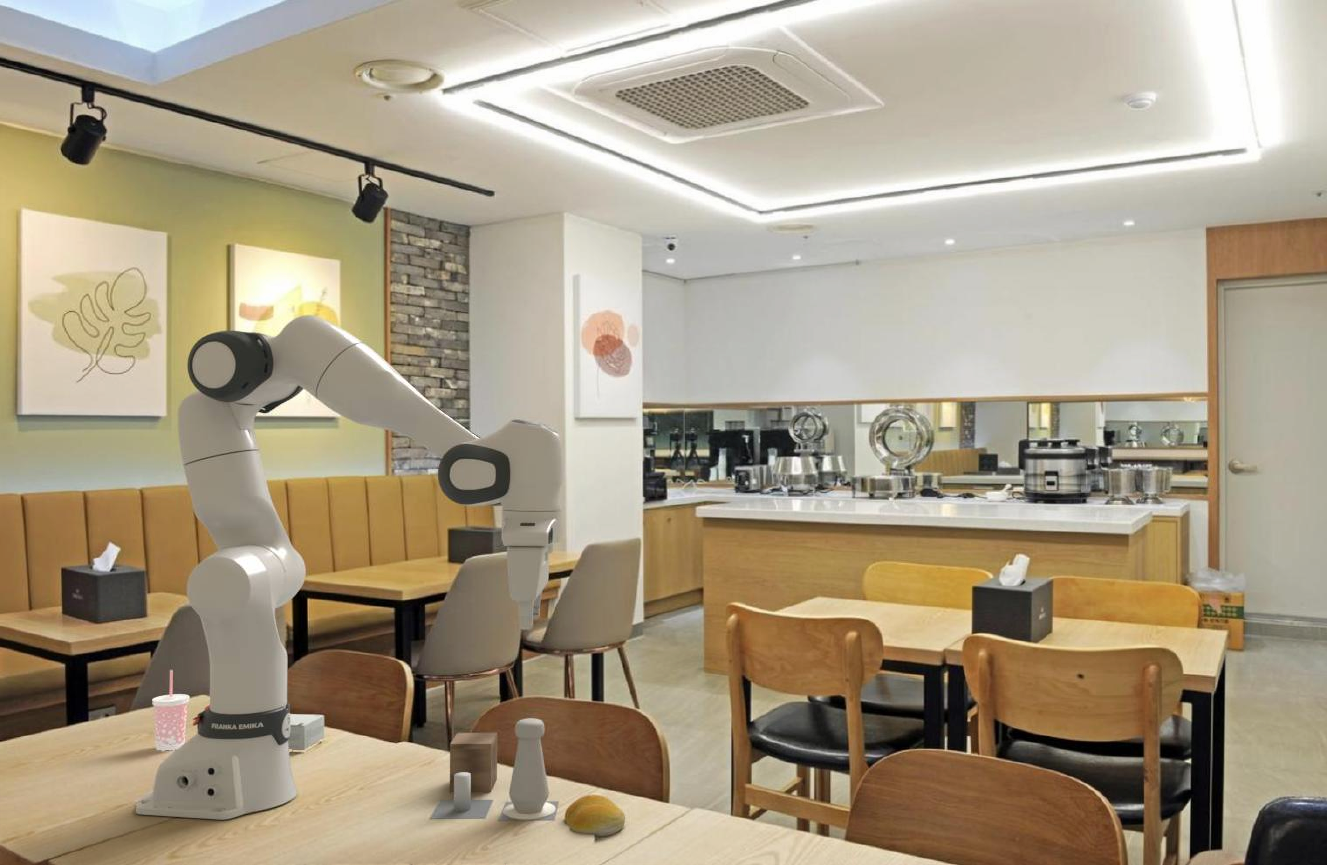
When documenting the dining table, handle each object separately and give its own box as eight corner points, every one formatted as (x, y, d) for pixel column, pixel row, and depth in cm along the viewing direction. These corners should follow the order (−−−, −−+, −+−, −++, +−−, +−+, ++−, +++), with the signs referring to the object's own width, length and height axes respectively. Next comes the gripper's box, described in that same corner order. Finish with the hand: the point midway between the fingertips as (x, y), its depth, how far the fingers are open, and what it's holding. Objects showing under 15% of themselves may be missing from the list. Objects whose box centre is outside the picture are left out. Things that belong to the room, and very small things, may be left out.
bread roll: (577, 842, 139) (577, 812, 139) (559, 820, 147) (559, 792, 147) (634, 834, 142) (634, 805, 142) (613, 813, 150) (613, 786, 150)
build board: (498, 824, 145) (498, 819, 145) (505, 805, 153) (505, 800, 153) (554, 823, 145) (554, 818, 145) (558, 805, 153) (558, 799, 153)
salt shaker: (541, 817, 146) (541, 725, 146) (503, 814, 147) (504, 723, 147) (553, 804, 151) (554, 716, 152) (517, 801, 152) (518, 714, 153)
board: (429, 822, 146) (429, 783, 146) (440, 803, 154) (440, 766, 154) (485, 822, 146) (485, 782, 146) (493, 803, 154) (493, 766, 154)
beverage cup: (178, 752, 181) (179, 673, 182) (144, 752, 181) (145, 673, 182) (195, 742, 187) (196, 666, 188) (162, 742, 187) (163, 666, 188)
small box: (285, 740, 190) (285, 712, 190) (325, 742, 189) (325, 714, 189) (263, 752, 182) (263, 723, 182) (304, 754, 181) (304, 725, 181)
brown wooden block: (449, 795, 157) (450, 743, 158) (457, 782, 164) (457, 732, 164) (491, 795, 158) (491, 743, 158) (496, 782, 164) (497, 732, 164)
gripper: (518, 524, 161) (516, 612, 160) (501, 534, 140) (499, 634, 140) (558, 525, 161) (556, 613, 160) (547, 534, 140) (545, 635, 140)
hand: (529, 623), depth 150 cm, fingers open, 8 cm apart
